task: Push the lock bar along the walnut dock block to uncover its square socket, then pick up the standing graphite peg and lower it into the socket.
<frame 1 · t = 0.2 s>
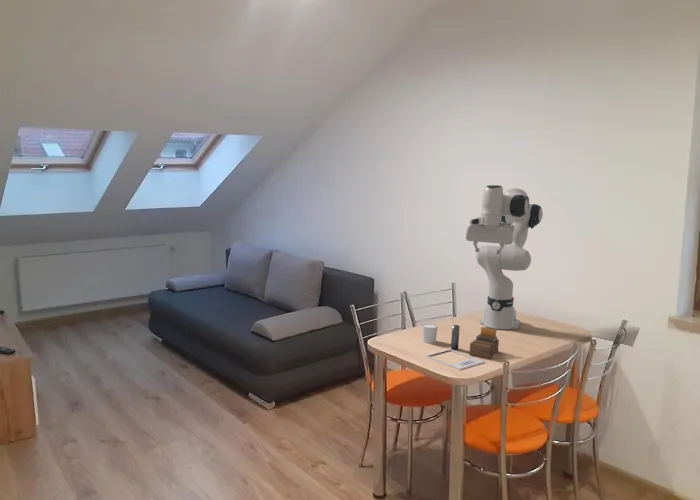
hand: (487, 253, 244), 39 cm above the table, tool pointing down, fingers open, 8 cm apart
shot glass: (429, 341, 241), on the table
lock bar: (487, 334, 228), point 7 cm above the table, slide at 0.0 cm
photo frame: (454, 361, 219), on the table
dock: (483, 353, 227), on the table
peg: (454, 348, 232), on the table
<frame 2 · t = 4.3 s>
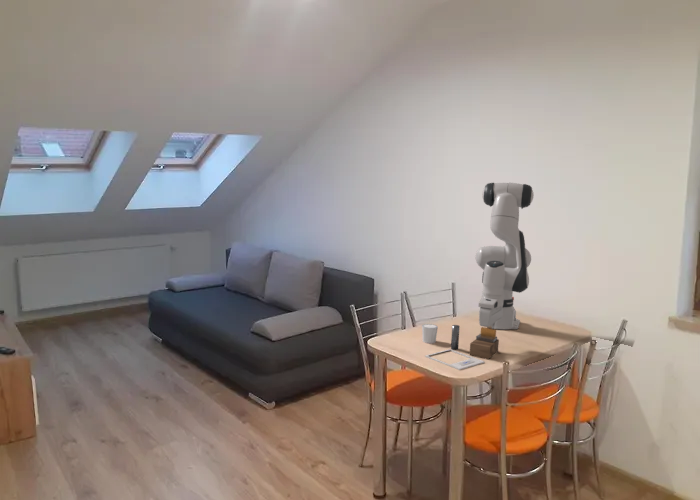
hand: (490, 332, 232), 7 cm above the table, tool pointing down, fingers closed
lock bar: (486, 334, 228), point 7 cm above the table, slide at 0.1 cm, touching gripper
everything else where it was.
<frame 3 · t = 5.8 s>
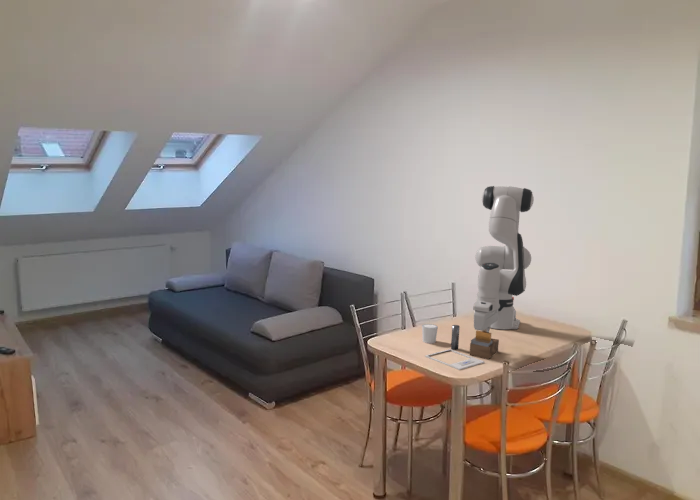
hand: (485, 336, 227), 7 cm above the table, tool pointing down, fingers closed
lock bar: (481, 338, 223), point 7 cm above the table, slide at 6.4 cm, touching gripper
everything else where it was.
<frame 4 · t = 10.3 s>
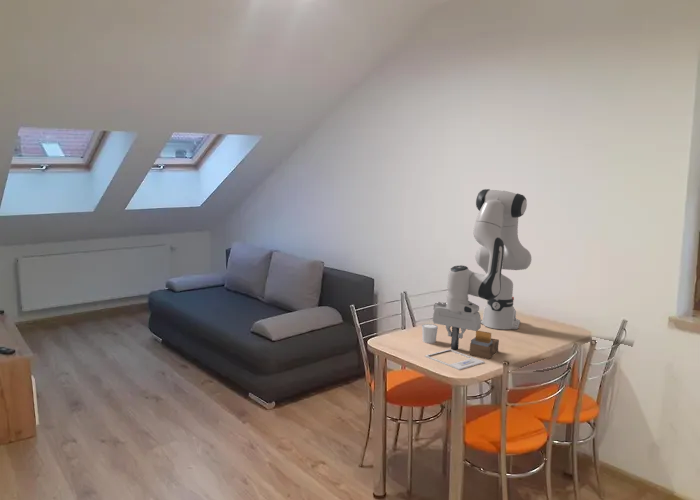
hand: (455, 337, 231), 5 cm above the table, tool pointing down, fingers closed on peg, 3 cm apart
lock bar: (481, 338, 223), point 7 cm above the table, slide at 6.4 cm
peg: (454, 348, 232), on the table, touching gripper
everything else where it was.
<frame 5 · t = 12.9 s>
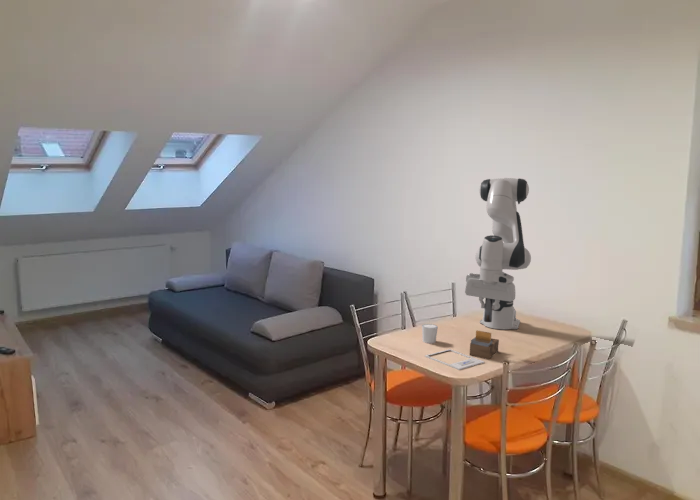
hand: (488, 308, 227), 18 cm above the table, tool pointing down, fingers closed on peg, 3 cm apart
peg: (487, 321, 228), point 13 cm above the table, touching gripper
everything else where it was.
when the fingers open (7 cm above the table, at t = 15.7 s): peg drops 1 cm, resting in dock.
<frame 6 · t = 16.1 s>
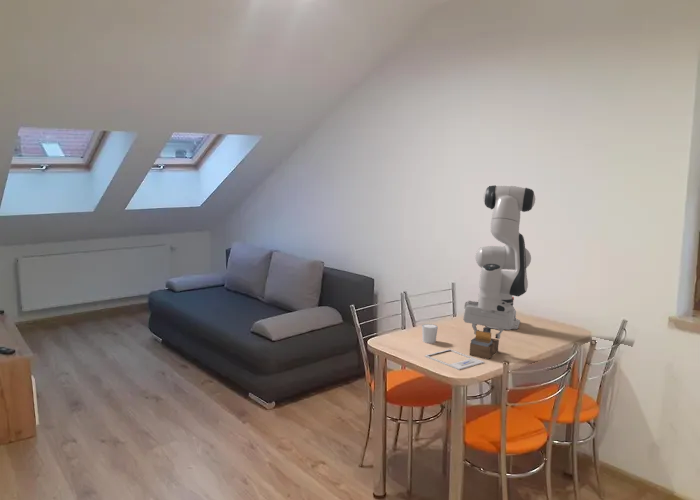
hand: (486, 336, 229), 7 cm above the table, tool pointing down, fingers open, 8 cm apart
peg: (485, 351, 229), resting in dock
everything else where it was.
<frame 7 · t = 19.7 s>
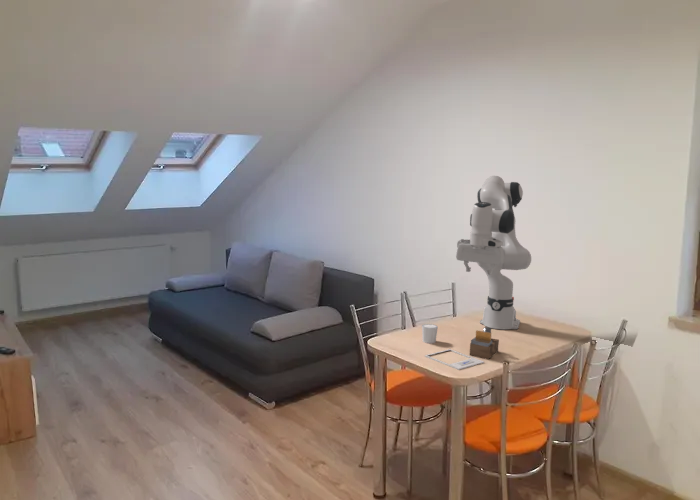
hand: (478, 272, 236), 31 cm above the table, tool pointing down, fingers open, 8 cm apart
nothing on the table moved.
at the end: peg 0.0 cm from the target spot on the dock, point 0.0 cm above the dock's base; peg tilted 0°; lock bar slide at 6.4 cm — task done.
